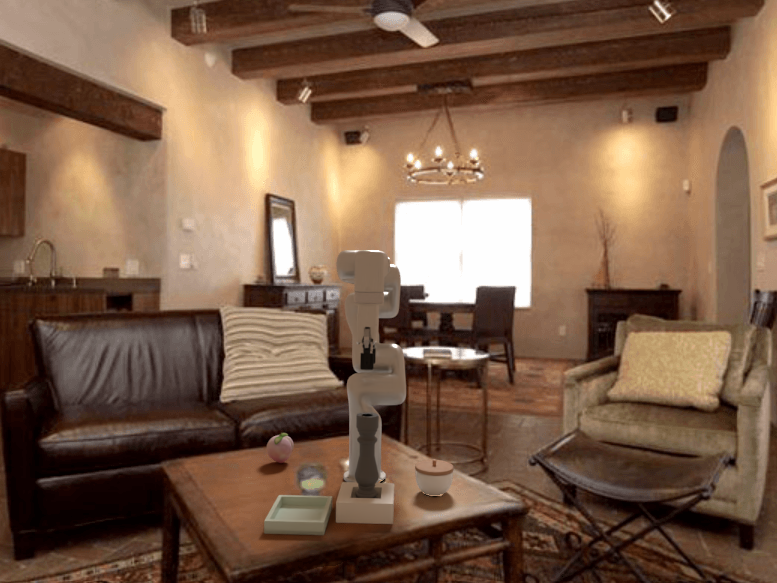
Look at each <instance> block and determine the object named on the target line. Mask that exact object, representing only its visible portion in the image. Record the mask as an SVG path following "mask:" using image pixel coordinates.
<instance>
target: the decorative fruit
mask: <svg viewBox="0 0 777 583" xmlns="http://www.w3.org/2000/svg"><path fill="white" fill-rule="evenodd" d="M294 446H295V445H294V441H293V439H292V438H291V437H290V436H289V434H288V433H286V432H280V433H279V434H277V435H275V436H272V437H271V438H270V439H269V440H268V442H267V444H266V453H267V455H268V457H269V458H270V459H271V460H272V461H275V462H277V463H279V464H282V463H284V462H286V461H287V460H288V459H289V458H290V457H291V455H292V453H293V450H294Z"/></svg>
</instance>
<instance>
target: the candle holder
mask: <svg viewBox="0 0 777 583" xmlns="http://www.w3.org/2000/svg"><path fill="white" fill-rule="evenodd" d="M378 414H379V413H378ZM378 414H376V413H370V412H364V413H359V414H357V415H356V427H357V430H358V432H359V435H360V436H359V437H358V438H357V441H358V442H359V444H360V455H359V459H358V463H357V467H356V471H355V479H356V481H357V483H358V487H359V488H358V490H357V491H356V493H355V494H356V497H355V498H378V497H377V495H378V493H377V491H376V490H375V488H374V487H375V484H376V482H377V480H378V478H379V474H378V469H377V464H376V460H375V443H376V442H377V437H375V434H376V432H377V429H378V427H379V415H380V414H379V415H378Z"/></svg>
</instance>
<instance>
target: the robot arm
mask: <svg viewBox="0 0 777 583" xmlns="http://www.w3.org/2000/svg"><path fill="white" fill-rule="evenodd" d="M335 265H336V268H335V269H336V272H337V276H338V279H339V280H340V281H341V282H342V283H346V284H352V285H354V286H353V290H354V292H351V293H349V294H347V296H346V297H345V300H344V313H345V318H346V322H347V323H346V324H348V328H349V330H350V333H351V337H352V338H351V340H352V343H351V344H352V346H351V348H352V349H351V350H352V352H351V353H352V354H351V355H352V356H351V360H352V367H353V370H354V371H355V372H356V373H353V374H352V375H350V376H349V377H348V379H347V383H346V392H347V394H346V395H347V399H348V410H349V412H348V413H349V414H348V416H349V417H348V418H349V420H348V421H349V423H348V424H349V427H348V428H349V432H348V433H349V435H348V436H349V438H348V439H349V440H348V445H349V446H348V447H349V451H348V452H349V453H348V470H347V471H345V472H344V473H343V480H344V482H357V481H356V479H355V471H356V467H357V463H358V459H359V455H360V444H359V442H358V441H357V438H358V437H359V436H360V435H359V432H358V430H357V427H356V415H357V414H359V413H364V412H370V413H376V414H378V415H379V427H378V429H377V432H376V434H375V437H377V442H376V443H375V460H376V464H377V469H378V474H379V478H378V480H377V482H376V483H378V482H379V481H380V480H384V479H385V480H386V479H387V474H386V473H385V472H384V471H383V470H382V418H381V415H380V414H379V412H378V411H377V410H376V409H375V408H374V407H375V406H398V405H401V404H403V403H404V402H405V400H406V397H407V381H406V380H407V378H406V364H405V355H404V351H403V349H402V347H401V346H400V345H399V344H396V343H381V342H380V333H379V321H380V320H379V319H392V318H395V317H396V316H397V315H398V314H399V312H400V310H399V309H400V301H401V300H400V298H401V286H402V285H401V281H402V280H401V272H400V270H399V268H398V266H397V265H395V264H393V263H391V259H390V257H389V256H388V253H386V252H385V251H382V250H374V249H371V250H368V249H365V250H364V249H363V250H361V249H360V250H358V249H357V250H353V249H352V250H351V249H350V250H341V251H339V253H338V255H337V258H336V263H335Z"/></svg>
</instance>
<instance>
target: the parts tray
mask: <svg viewBox="0 0 777 583" xmlns="http://www.w3.org/2000/svg"><path fill="white" fill-rule="evenodd" d="M332 510H333V496H331V495H326V496H325V495H297V494H296V495H295V494H293V495H292V494H279V495H278V496H277V497H276V499H275V501H274V502H273V505H272V507H271V509H270V510H269V512H268V513H267V515H266V517H265V519H264V523H263V524H264V526H263V529H264V530H263V534H264V535H265V534H266V535H267V534H269V535H270V534H271V535H304V536H305V535H307V536H310V535H311V536H324V535H325V533H326V528H327V526H328V524H329V519H330V516H331V513H332Z"/></svg>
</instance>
